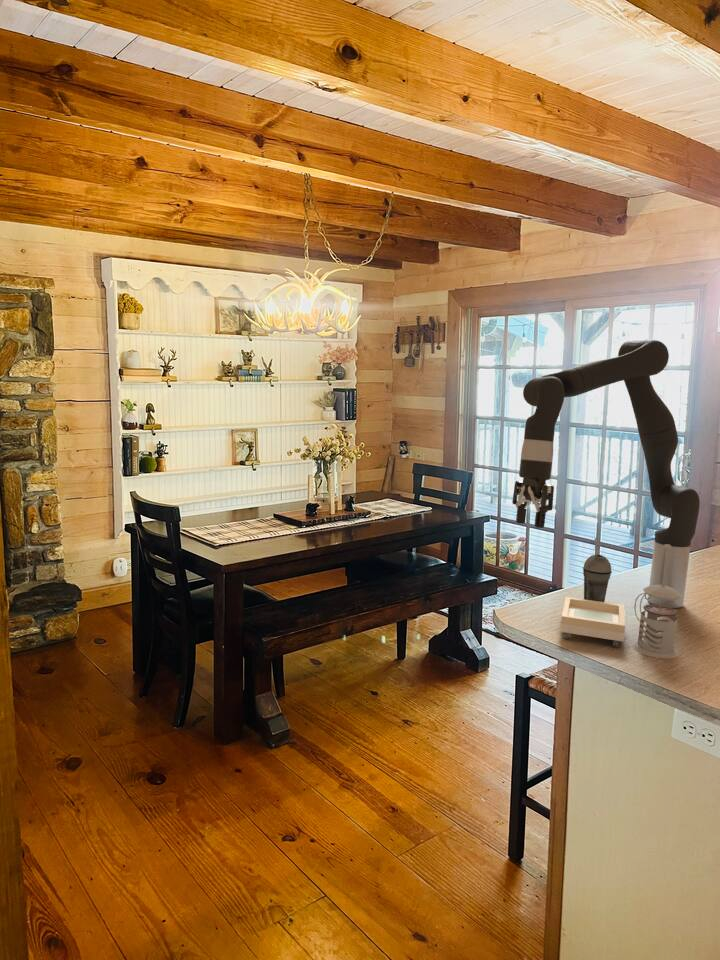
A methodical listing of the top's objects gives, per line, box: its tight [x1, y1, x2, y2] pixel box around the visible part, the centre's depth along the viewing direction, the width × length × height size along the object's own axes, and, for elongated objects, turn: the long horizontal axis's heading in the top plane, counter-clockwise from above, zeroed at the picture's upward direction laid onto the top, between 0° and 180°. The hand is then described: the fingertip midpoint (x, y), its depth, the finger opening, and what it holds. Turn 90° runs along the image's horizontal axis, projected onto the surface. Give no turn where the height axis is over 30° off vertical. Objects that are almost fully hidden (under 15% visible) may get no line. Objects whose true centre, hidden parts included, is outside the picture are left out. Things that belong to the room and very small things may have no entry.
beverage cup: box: [582, 537, 613, 602], centre depth 186 cm, size 7×7×20 cm
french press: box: [632, 544, 682, 659], centre depth 162 cm, size 10×12×25 cm
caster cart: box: [559, 596, 626, 648], centre depth 171 cm, size 16×14×6 cm
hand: (529, 525), depth 173 cm, fingers open, 8 cm apart
